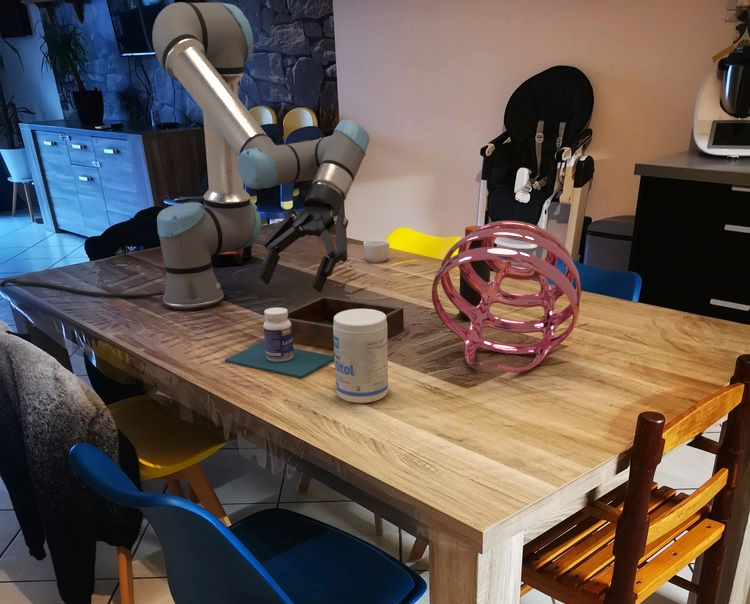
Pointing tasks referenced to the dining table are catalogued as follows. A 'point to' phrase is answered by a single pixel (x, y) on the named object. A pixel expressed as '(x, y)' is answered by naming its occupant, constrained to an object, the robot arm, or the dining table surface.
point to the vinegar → (480, 269)
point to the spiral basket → (492, 293)
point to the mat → (294, 367)
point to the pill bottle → (278, 335)
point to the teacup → (376, 250)
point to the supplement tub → (361, 355)
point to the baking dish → (231, 257)
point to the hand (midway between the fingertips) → (289, 284)
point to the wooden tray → (327, 308)
